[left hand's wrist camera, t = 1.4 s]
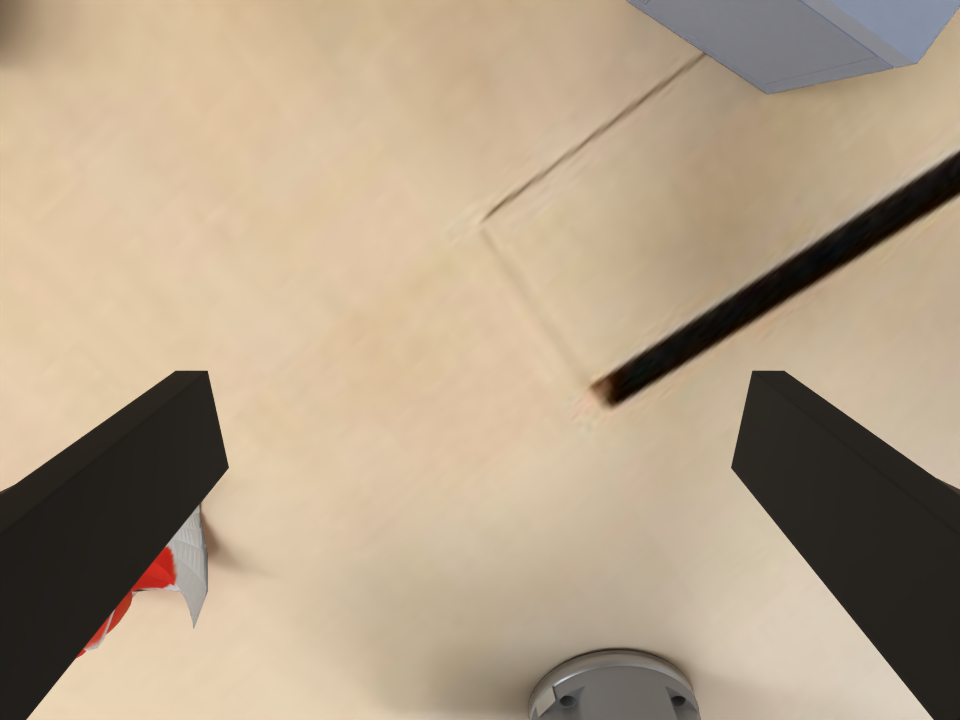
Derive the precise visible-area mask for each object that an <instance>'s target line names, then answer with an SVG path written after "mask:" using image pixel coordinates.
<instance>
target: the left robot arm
mask: <svg viewBox="0 0 960 720" xmlns="http://www.w3.org/2000/svg"><path fill="white" fill-rule="evenodd" d="M228 468H229V466H228V462H227V457H226V452H225V448H224V443H223V439H222V434H221V430H220V425H219V421H218V416H217V411H216V407H215V402H214V398H213V393H212V389H211V384H210V379H209V375H208V371H175V372H173V373H172V374H171V375H169V376H168V377H166V378H165V379H164V380H162V381H161V382H159V383H158V384H156V385H155V386H154V387H152V388H151V389H149V390H148V391H147V392H145V393H144V394H142V395H141V396H139V397H138V398H137V399H135V400H134V401H132V402H131V403H130V404H128V405H127V406H125V407H124V408H123V409H121V410H120V411H118V412H117V413H115V414H114V415H113V416H111V417H110V418H108V419H107V420H106V421H104V422H103V423H101V424H100V425H99V426H97V427H96V428H94V429H93V430H91V431H90V432H89V433H87V434H86V435H84V436H83V437H82V438H80V439H79V440H77V441H76V442H74V443H73V444H72V445H70V446H69V447H67V448H66V449H65V450H63V451H62V452H60V453H59V454H58V455H56V456H55V457H53V458H52V459H50V460H49V461H48V462H46V463H45V464H43V465H42V466H41V467H39V468H38V469H36V470H35V471H34V472H32V473H31V474H29V475H28V476H26V477H25V478H24V479H22V480H21V481H19V482H18V483H17V484H15V485H13V486H11V487H9V488H7V489H5V490H3V491H1V492H0V720H26V719H27V718H28V717H29V716H30V714H31V713H32V712H33V711H34V709H35V708H36V707H37V706H38V704H39V703H40V702H41V701H42V699H43V698H44V697H45V696H46V695H47V693H48V692H49V691H50V690H51V688H52V687H53V686H54V685H55V683H56V682H57V681H58V680H59V678H60V677H61V676H62V675H63V673H64V672H65V671H66V670H67V668H68V667H69V666H70V665H71V663H72V662H73V661H74V660H75V658H76V657H77V656H78V655H79V653H80V652H81V651H82V650H83V649H84V647H85V646H86V645H87V644H88V642H89V641H90V640H91V639H92V637H93V636H94V635H95V634H96V632H97V631H98V630H99V629H100V627H101V626H102V625H103V624H104V622H105V621H106V620H107V619H108V617H109V616H110V615H111V614H112V612H113V611H114V610H115V609H116V607H117V606H118V605H119V604H120V603H121V601H122V600H123V599H124V598H125V596H126V595H127V594H128V593H129V591H130V590H131V589H132V588H133V586H134V585H135V584H136V583H137V581H138V580H139V579H140V578H141V576H142V575H143V574H144V573H145V571H146V570H147V569H148V568H149V566H150V565H151V564H152V563H153V561H154V560H155V559H156V558H157V557H158V555H159V554H160V553H161V552H162V550H163V549H164V548H165V547H166V545H167V544H168V543H169V542H170V540H171V539H172V538H173V537H174V535H175V534H176V533H177V532H178V530H179V529H180V528H181V527H182V525H183V524H184V523H185V522H186V520H187V519H188V518H189V517H190V515H191V514H192V513H193V512H194V510H195V509H196V508H197V507H198V506H199V504H200V503H201V502H202V501H203V499H204V498H205V497H206V496H207V494H208V493H209V492H210V491H211V489H212V488H213V487H214V486H215V484H216V483H217V482H218V481H219V479H220V478H221V477H222V476H223V474H224V473H225V472H226V471H227V469H228ZM731 468H732V469H733V471H734V472H735V473H736V474H737V476H738V477H739V478H740V479H741V481H742V482H743V483H744V484H745V486H746V487H747V488H748V489H749V491H750V492H751V493H752V494H753V496H754V497H755V498H756V499H757V501H758V502H759V503H760V504H761V506H762V507H763V508H764V509H765V510H766V512H767V513H768V514H769V515H770V517H771V518H772V519H773V520H774V522H775V523H776V524H777V525H778V527H779V528H780V529H781V530H782V532H783V533H784V534H785V535H786V537H787V538H788V539H789V540H790V542H791V543H792V544H793V545H794V547H795V548H796V549H797V550H798V552H799V553H800V554H801V555H802V557H803V558H804V559H805V560H806V561H807V563H808V564H809V565H810V566H811V568H812V569H813V570H814V571H815V573H816V574H817V575H818V576H819V578H820V579H821V580H822V581H823V583H824V584H825V585H826V586H827V588H828V589H829V590H830V591H831V593H832V594H833V595H834V596H835V598H836V599H837V600H838V601H839V603H840V604H841V605H842V606H843V607H844V609H845V610H846V611H847V612H848V614H849V615H850V616H851V617H852V619H853V620H854V621H855V622H856V624H857V625H858V626H859V627H860V629H861V630H862V631H863V632H864V634H865V635H866V636H867V637H868V639H869V640H870V641H871V642H872V644H873V645H874V646H875V647H876V649H877V650H878V651H879V652H880V653H881V655H882V656H883V657H884V658H885V660H886V661H887V662H888V663H889V665H890V666H891V667H892V668H893V670H894V671H895V672H896V673H897V675H898V676H899V677H900V678H901V680H902V681H903V682H904V683H905V685H906V686H907V687H908V688H909V690H910V691H911V692H912V693H913V695H914V696H915V697H916V698H917V699H918V701H919V702H920V703H921V704H922V706H923V707H924V708H925V709H926V711H927V712H928V713H929V714H930V716H931V717H932V718H933V719H934V720H960V489H958V488H956V487H954V486H951V485H949V484H947V483H945V482H943V481H941V480H939V479H937V478H935V477H934V476H932V475H931V474H929V473H928V472H926V471H925V470H924V469H922V468H921V467H919V466H918V465H917V464H915V463H914V462H912V461H911V460H910V459H908V458H907V457H905V456H904V455H902V454H901V453H900V452H898V451H897V450H895V449H894V448H893V447H891V446H890V445H888V444H887V443H886V442H884V441H883V440H881V439H880V438H878V437H877V436H876V435H874V434H873V433H871V432H870V431H869V430H867V429H866V428H864V427H863V426H861V425H860V424H859V423H857V422H856V421H854V420H853V419H852V418H850V417H849V416H847V415H846V414H845V413H843V412H842V411H840V410H839V409H837V408H836V407H835V406H833V405H832V404H830V403H829V402H828V401H826V400H825V399H823V398H822V397H821V396H819V395H818V394H816V393H815V392H813V391H812V390H811V389H809V388H808V387H806V386H805V385H804V384H802V383H801V382H799V381H798V380H796V379H795V378H794V377H792V376H791V375H789V374H788V373H787V372H785V371H752V375H751V379H750V384H749V389H748V393H747V398H746V402H745V407H744V411H743V416H742V421H741V425H740V430H739V434H738V439H737V443H736V448H735V452H734V457H733V462H732V466H731ZM529 720H701V718H700V713H699V708H698V704H697V701H696V699H695V696H694V694H693V691H692V689H691V686H690V684H689V682H688V680H687V679H686V677H685V676H684V675H683V674H682V672H681V671H679V670H678V669H677V668H676V667H675V666H673V665H672V664H670V663H669V662H667V661H665V660H663V659H661V658H659V657H656V656H653V655H650V654H646V653H642V652H636V651H627V650H610V651H601V652H595V653H591V654H586V655H583V656H580V657H577V658H574V659H572V660H569V661H567V662H565V663H563V664H562V665H560V666H558V667H557V668H555V669H554V670H552V671H551V672H550V673H548V674H547V675H546V676H545V677H544V678H543V679H542V680H541V681H540V682H539V684H538V685H537V686H536V688H535V690H534V691H533V693H532V696H531V698H530V702H529Z"/></svg>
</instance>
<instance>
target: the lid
mask: <svg viewBox="0 0 960 720" xmlns="http://www.w3.org/2000/svg"><path fill="white" fill-rule="evenodd" d="M801 1H803V2H804V3H805V4H807V5H808V6H810V7H811V8H812V9H814V10H815V11H816V12H818V13H819V14H821V15H822V16H823V17H825V18H826V19H828V20H829V21H830V22H832V23H833V24H835V25H836V26H837V27H839V28H840V29H842V30H843V31H844V32H846V33H847V34H848V35H850V36H851V37H853V38H854V39H855V40H857V41H858V42H860V43H861V44H862V45H864V46H865V47H867V48H868V49H869V50H871V51H872V52H874V53H875V54H876V55H878V56H879V57H881V58H882V59H883V60H885V61H886V62H887V63H889V64H890V65H892V66H893V67H895V68H898V67H903V66H908V65H913V64H917V63H918V62H919V61H920V59H921V58H922V57H923V55H924V54H925V53H926V51H927V50H928V48H929V47H930V46H931V44H932V43H933V42H934V40H935V39H936V38H937V36H938V35H939V34H940V32H941V31H942V30H943V28H944V27H945V26H946V24H947V23H948V22H949V20H950V19H951V17H952V16H953V15H954V13H955V12H956V11H957V9H958V8H959V7H960V0H801Z"/></svg>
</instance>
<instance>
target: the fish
mask: <svg viewBox="0 0 960 720" xmlns="http://www.w3.org/2000/svg"><path fill="white" fill-rule="evenodd" d="M200 505H201V503H200V504H199V506H198V507H197V508H196V509H195V510H194V512H193V513H192V514H191V515H190V517H189V518H188V519H187V520H186V522H185V523H184V524H183V525H182V527H181V528H180V529H179V530H178V532H177V533H176V534H175V535H174V537H173V538H172V539H171V540H170V542H169V543H168V544H167V545H166V547H165V548H164V549H163V550H162V552H161V553H160V554H159V555H158V557H157V558H156V559H155V560H154V561H153V563H152V564H151V565H150V566H149V568H148V569H147V570H146V571H145V573H144V574H143V575H142V576H141V578H140V579H139V580H138V581H137V583H136V584H135V585H134V586H133V588H132V589H131V590H130V591H129V593H128V594H127V595H126V596H125V598H124V599H123V600H122V601H121V603H120V604H119V605H118V606H117V607H116V609H115V610H114V611H113V612H112V614H111V615H110V616H109V617H108V619H107V620H106V621H105V622H104V624H103V625H102V626H101V627H100V629H99V630H98V631H97V632H96V634H95V635H94V636H93V637H92V639H91V640H90V641H89V642H88V644H87V645H86V646H85V647H84V649H83V650H82V651H81V652H80V653H79V655H78V656H77V657H76V658H78V657H79V656H81V655H83V654H84V653H85V652H86V651H88V650H92V649H95V648H98V647H99V645H100V644H101V643H102V642H103V640H104V637H105V635H106V634H107V633H109V632H110V631H111V630H112V629H113V628H114V627H115V626H116V625H117V624H118V623H119V621H120V620H121V619H122V617H123V616H124V615H125V613H126V612H127V610H128V608H129V607H130V605H131V601H132V598H133V596H134V595H135V594H136V593H137V592H138V591H146V590H155V589H166V590H172V591H180V592H181V593H182V595H183V596H184V598H185V600H186V602H187V604H188V607H189V610H190V613H191V617H192V621H193V630H194V627H195V624H196V621H197V619H198V616H199V613H200V611H201V608H202V605H203V603H204V600H205V597H206V595H207V592H208V557H207V550H206V544H205V539H204V533H203V528H202V522H201V517H200Z"/></svg>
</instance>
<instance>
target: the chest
mask: <svg viewBox="0 0 960 720" xmlns="http://www.w3.org/2000/svg"><path fill="white" fill-rule="evenodd" d="M627 1H628V2H629V3H631V4H632V5H634V6H635V7H637V8H638V9H640V10H641V11H643V12H644V13H646V14H647V15H649V16H650V17H652V18H653V19H655V20H656V21H658V22H659V23H661V24H662V25H664V26H665V27H667V28H668V29H670V30H671V31H673V32H674V33H676V34H677V35H679V36H680V37H682V38H683V39H685V40H686V41H688V42H689V43H691V44H692V45H694V46H695V47H697V48H698V49H700V50H701V51H703V52H704V53H706V54H707V55H709V56H710V57H712V58H713V59H715V60H716V61H718V62H719V63H721V64H722V65H724V66H725V67H727V68H728V69H730V70H731V71H733V72H734V73H736V74H737V75H739V76H740V77H742V78H743V79H745V80H746V81H748V82H749V83H751V84H752V85H754V86H755V87H757V88H758V89H760V90H761V91H763V92H764V93H766V94H773V93H778V92H783V91H787V90H792V89H797V88H802V87H807V86H812V85H816V84H821V83H826V82H831V81H836V80H841V79H845V78H850V77H855V76H860V75H865V74H870V73H874V72H879V71H884V70H889V69H893V68H894V67H893V66H892V65H890V64H889V63H887V62H886V61H885V60H883V59H882V58H881V57H879V56H878V55H876V54H875V53H874V52H872V51H871V50H869V49H868V48H867V47H865V46H864V45H862V44H861V43H860V42H858V41H857V40H855V39H854V38H853V37H851V36H850V35H848V34H847V33H846V32H844V31H843V30H842V29H840V28H839V27H837V26H836V25H835V24H833V23H832V22H830V21H829V20H828V19H826V18H825V17H823V16H822V15H821V14H819V13H818V12H816V11H815V10H814V9H812V8H811V7H810V6H808V5H807V4H805V3H804V2H803V1H801V0H627Z"/></svg>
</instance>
